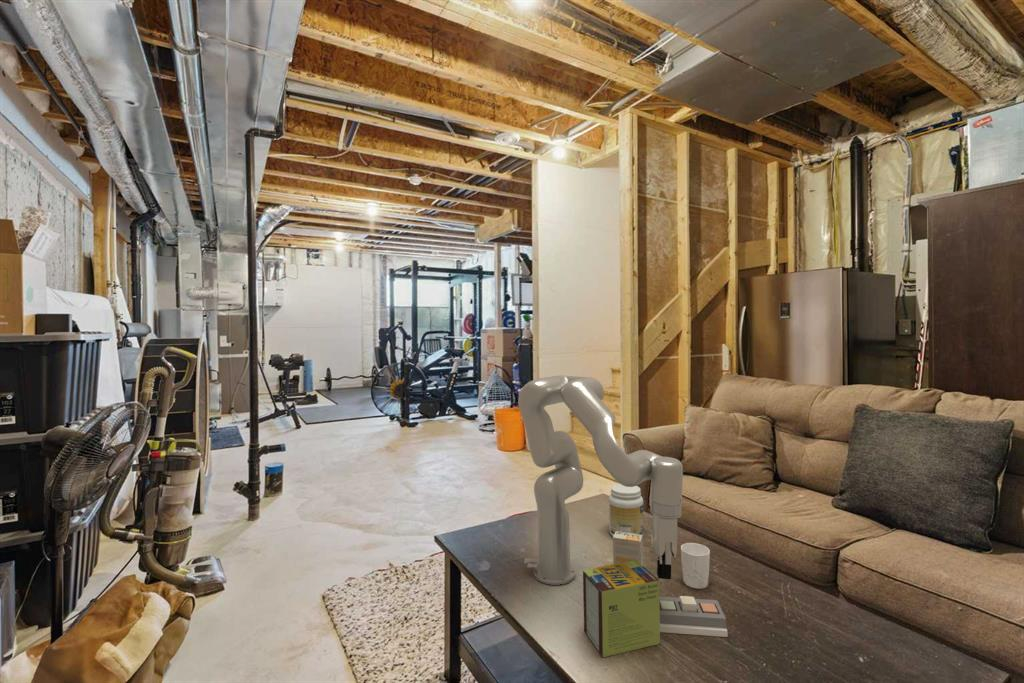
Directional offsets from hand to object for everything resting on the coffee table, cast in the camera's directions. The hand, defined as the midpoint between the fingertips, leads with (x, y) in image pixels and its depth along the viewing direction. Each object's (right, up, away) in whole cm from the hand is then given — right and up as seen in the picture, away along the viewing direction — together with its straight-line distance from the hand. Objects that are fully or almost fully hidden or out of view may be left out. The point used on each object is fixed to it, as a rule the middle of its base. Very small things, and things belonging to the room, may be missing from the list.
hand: (663, 576), depth 121 cm
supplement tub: (+2, -10, +49) cm, 50 cm away
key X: (+6, -8, -1) cm, 10 cm away
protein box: (-12, -12, -6) cm, 18 cm away
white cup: (+15, -10, +17) cm, 25 cm away
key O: (+1, -9, 0) cm, 9 cm away
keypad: (+6, -11, -1) cm, 12 cm away
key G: (+11, -9, -2) cm, 14 cm away
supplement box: (-4, -11, +20) cm, 23 cm away
